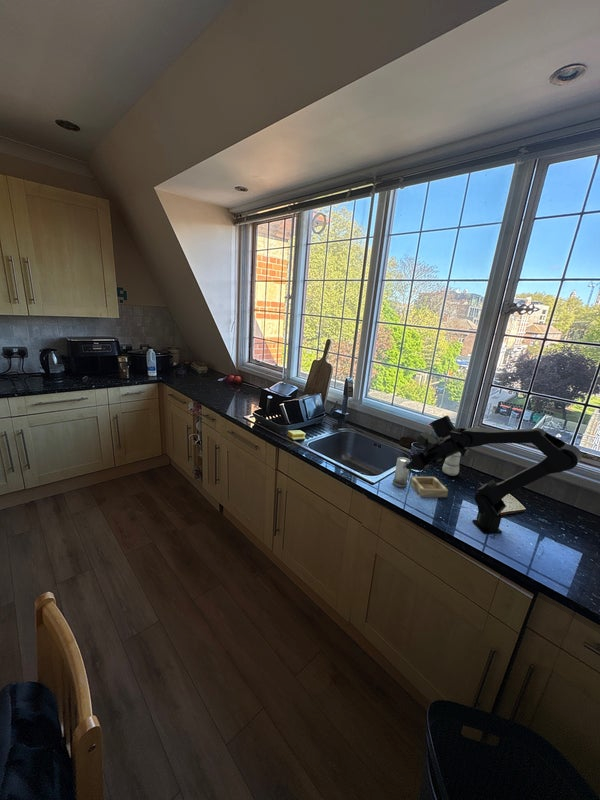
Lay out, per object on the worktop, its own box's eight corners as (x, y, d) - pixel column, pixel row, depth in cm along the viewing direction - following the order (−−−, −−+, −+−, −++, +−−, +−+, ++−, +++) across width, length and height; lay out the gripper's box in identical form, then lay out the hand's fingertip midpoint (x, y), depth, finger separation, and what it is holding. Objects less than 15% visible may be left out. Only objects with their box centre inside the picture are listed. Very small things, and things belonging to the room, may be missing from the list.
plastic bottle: (459, 478, 139) (469, 435, 134) (443, 476, 140) (452, 433, 135) (455, 471, 145) (464, 430, 140) (439, 469, 146) (448, 428, 141)
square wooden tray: (446, 497, 124) (448, 490, 123) (421, 497, 123) (422, 490, 122) (433, 483, 134) (434, 476, 133) (409, 482, 132) (410, 476, 132)
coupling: (409, 489, 128) (414, 463, 125) (396, 488, 127) (400, 463, 124) (402, 480, 134) (406, 456, 131) (389, 480, 134) (393, 455, 131)
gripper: (445, 424, 123) (414, 440, 134) (420, 433, 111) (388, 451, 122) (462, 450, 119) (428, 465, 130) (438, 463, 107) (403, 478, 118)
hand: (412, 464), depth 125 cm, fingers open, 9 cm apart
